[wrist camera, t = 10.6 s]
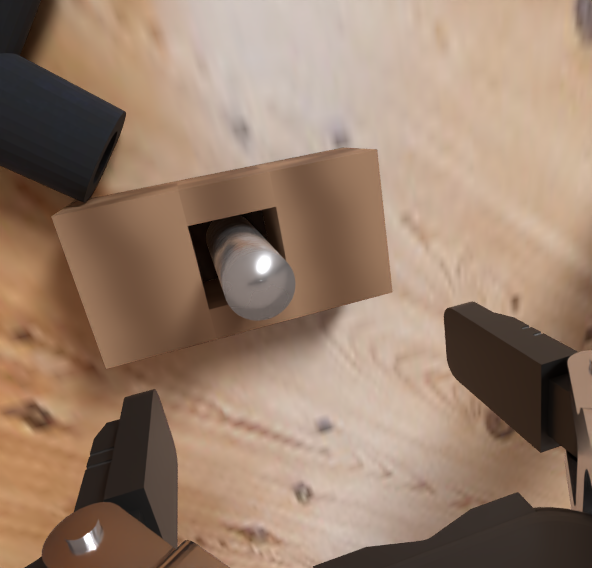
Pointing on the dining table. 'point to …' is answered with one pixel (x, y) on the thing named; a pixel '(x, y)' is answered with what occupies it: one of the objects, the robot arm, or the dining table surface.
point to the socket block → (183, 262)
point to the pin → (249, 269)
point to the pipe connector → (49, 116)
